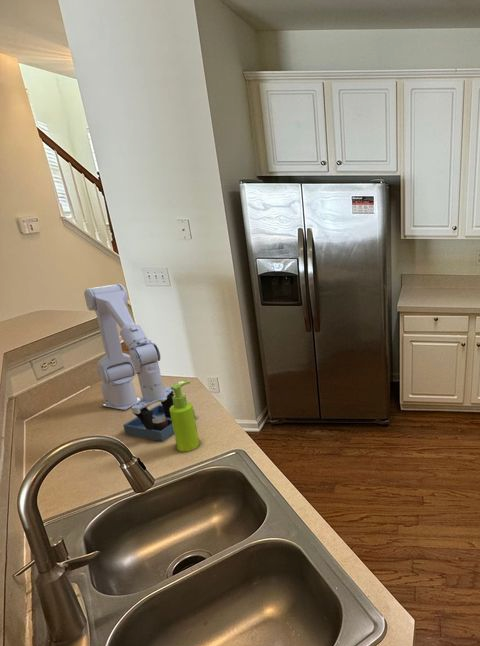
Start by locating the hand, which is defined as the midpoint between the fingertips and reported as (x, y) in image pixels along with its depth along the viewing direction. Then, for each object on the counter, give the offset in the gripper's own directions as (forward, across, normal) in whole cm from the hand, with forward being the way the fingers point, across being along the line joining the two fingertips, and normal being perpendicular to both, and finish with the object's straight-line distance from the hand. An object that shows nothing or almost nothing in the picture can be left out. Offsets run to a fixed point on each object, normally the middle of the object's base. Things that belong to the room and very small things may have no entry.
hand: (159, 422), depth 132 cm
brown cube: (+3, 0, 0) cm, 3 cm away
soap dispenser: (+4, -3, -13) cm, 14 cm away
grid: (+4, +3, +3) cm, 6 cm away
